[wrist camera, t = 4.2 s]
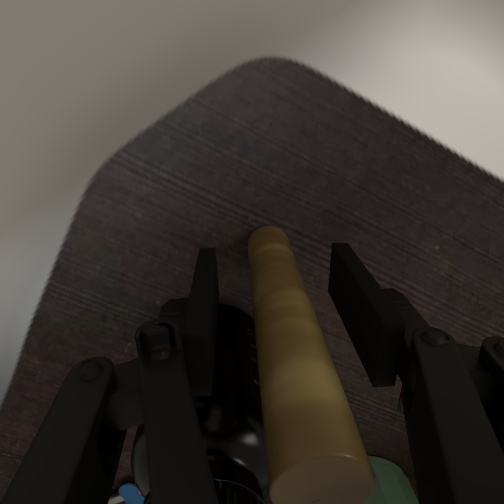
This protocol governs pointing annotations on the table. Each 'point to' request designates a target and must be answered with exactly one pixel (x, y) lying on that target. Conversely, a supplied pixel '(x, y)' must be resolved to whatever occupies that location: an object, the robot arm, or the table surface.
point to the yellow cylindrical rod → (300, 388)
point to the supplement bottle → (226, 417)
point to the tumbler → (390, 484)
